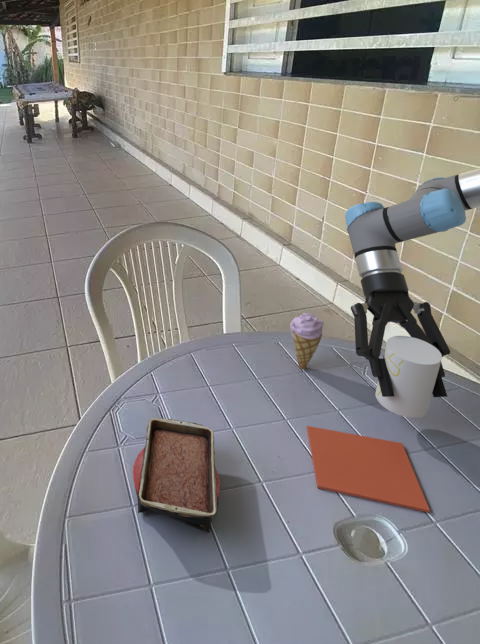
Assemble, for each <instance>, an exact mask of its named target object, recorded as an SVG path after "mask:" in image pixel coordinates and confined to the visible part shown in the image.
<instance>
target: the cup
mask: <svg viewBox="0 0 480 644" xmlns="http://www.w3.org/2000/svg"><path fill="white" fill-rule="evenodd" d="M382 359H385V361H386V365H387V368H388V372H389V376H390V380H391V384H392V388H393V392H394V396H391V397H382V393H381V389H380V385H379V381H378V380H377V383H376V389H375V399H376V401H377V402H378V403H379V404H380V405H381V406H382V407H383V408H385V409H386V410H387V411H389V412H391V413H393V414H395V415H397V416H400V417H402V418H403V417H404V418H407V419H419V418H422V417H424V416H425V415H427V413H428V410H429V406H430V403H431V400H432V397H433V394H432V392H433V389H434V385H435V382H436V378H437V374H438V371H439V367H440V364H441V363H442V359H443V357H442V355H441V353H440V351H439V350H438V349H437V348H435V347H434V346H433V345H431V344H429V343H427V342H425V341H423V340H420V339H417V338H413V337H411V336H407V335H394V336H391V337H389V338H388V339H386V343H385V348H384V352H383V357H382Z"/></svg>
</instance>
